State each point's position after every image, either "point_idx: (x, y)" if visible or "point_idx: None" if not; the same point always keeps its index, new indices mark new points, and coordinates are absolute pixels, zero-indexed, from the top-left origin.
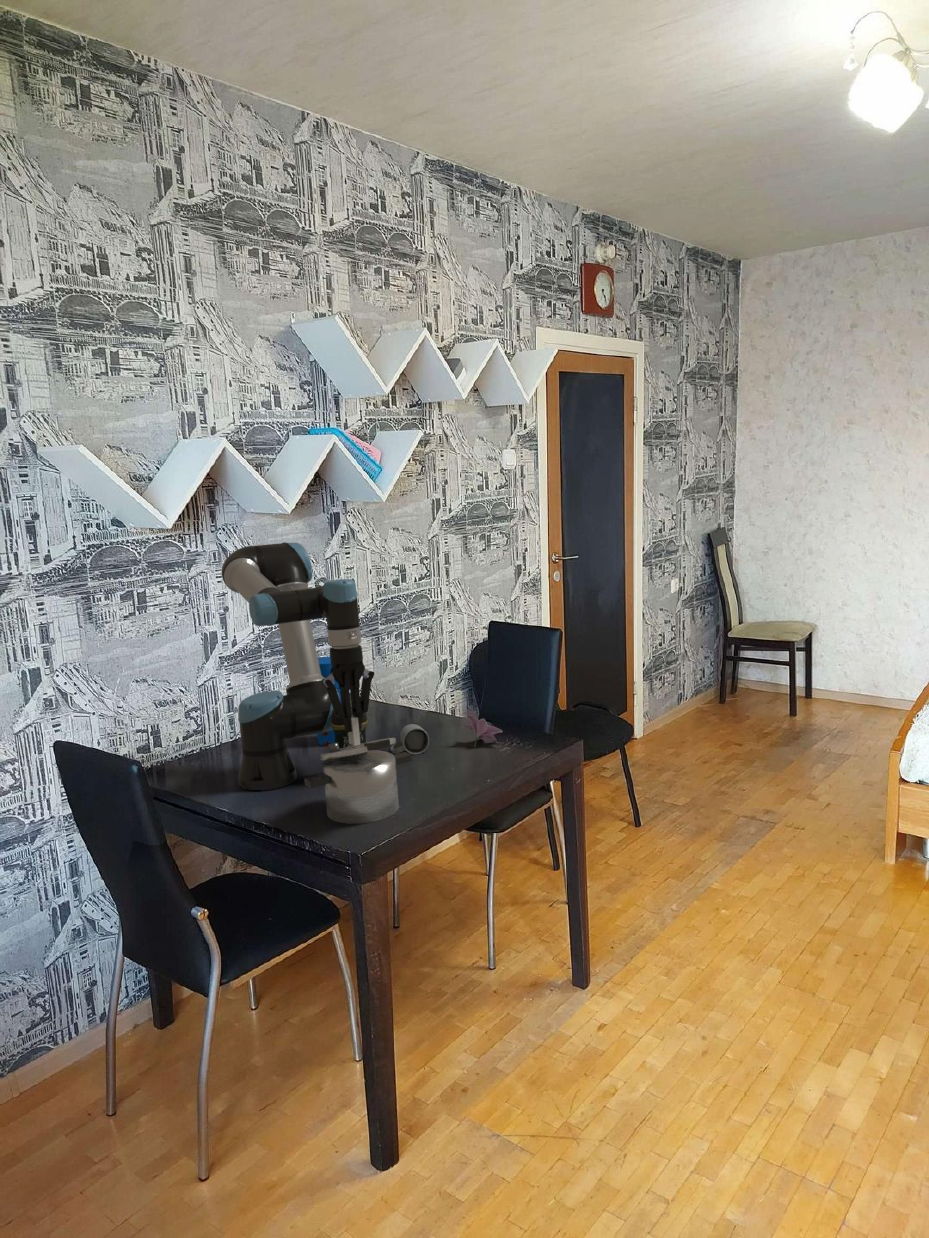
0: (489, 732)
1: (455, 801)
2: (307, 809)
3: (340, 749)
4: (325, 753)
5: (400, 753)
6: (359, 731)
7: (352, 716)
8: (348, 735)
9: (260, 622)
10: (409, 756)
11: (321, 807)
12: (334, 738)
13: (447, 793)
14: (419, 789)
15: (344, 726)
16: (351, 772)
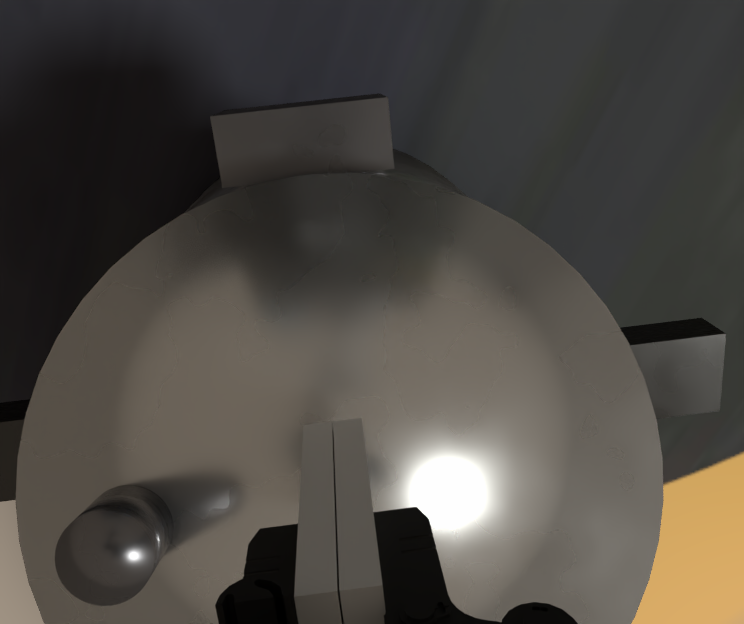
0: None
1: (701, 457)
2: (85, 137)
3: (233, 366)
4: (77, 422)
5: (683, 344)
6: None
7: (367, 616)
8: (301, 464)
9: None
10: (698, 408)
11: (162, 157)
12: None
13: (737, 358)
14: (678, 232)
15: (244, 569)
16: None
